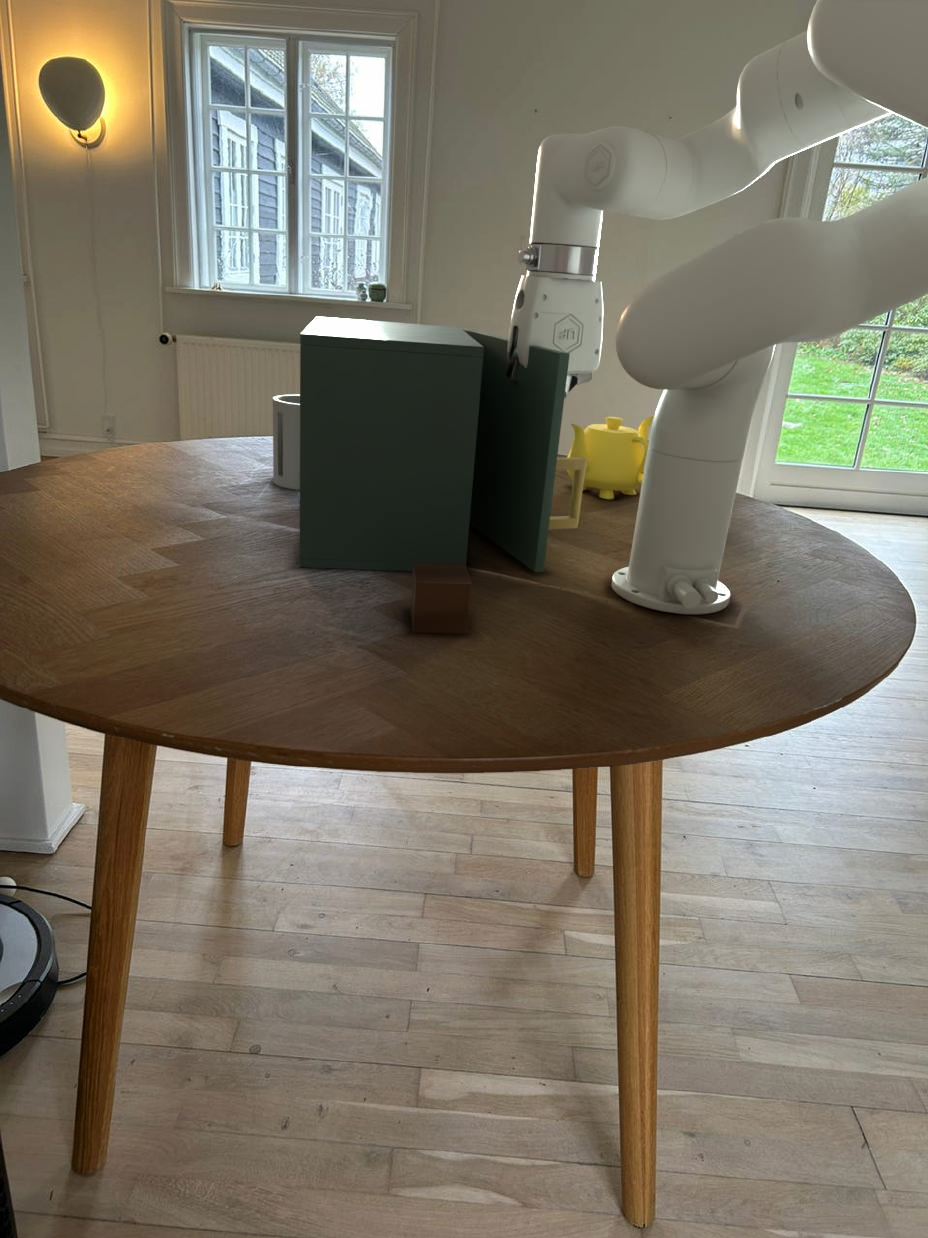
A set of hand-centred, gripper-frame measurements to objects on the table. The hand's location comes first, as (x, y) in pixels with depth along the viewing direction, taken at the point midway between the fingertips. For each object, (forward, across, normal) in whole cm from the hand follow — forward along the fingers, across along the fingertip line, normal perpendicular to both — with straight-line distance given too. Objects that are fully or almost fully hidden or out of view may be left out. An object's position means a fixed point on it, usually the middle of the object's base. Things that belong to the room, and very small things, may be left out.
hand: (543, 432), depth 100 cm
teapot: (+14, +26, +22) cm, 37 cm away
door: (+14, -1, +4) cm, 14 cm away
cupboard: (+14, -17, +8) cm, 23 cm away
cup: (+14, -19, +34) cm, 41 cm away
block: (+14, -21, -20) cm, 32 cm away
